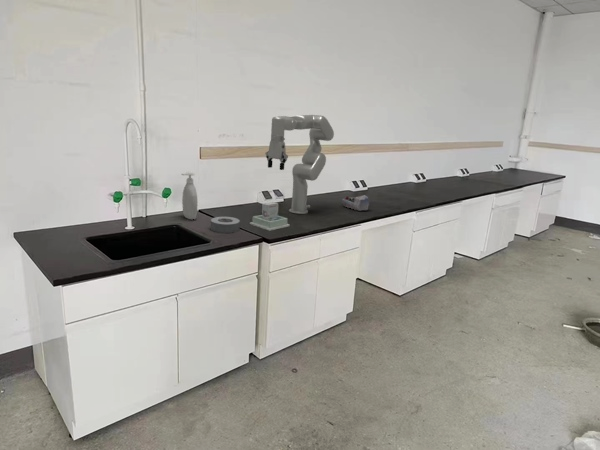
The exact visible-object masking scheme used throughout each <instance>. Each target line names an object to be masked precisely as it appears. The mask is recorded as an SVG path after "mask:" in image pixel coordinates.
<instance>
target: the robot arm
mask: <svg viewBox="0 0 600 450" xmlns="http://www.w3.org/2000/svg"><path fill="white" fill-rule="evenodd" d="M294 130H298V131H301V130H309V146H308V147H307V149H306V151H305V152H304V153H303V155H302V158H301V163H296V164H294V166H293V167H292V170H291V171H292V172H291V173H292V174H291V175H292V182H293V183H292V195H291V196H292V197H291V208H289V209H288V212H289V213H292V214H295V215H296V214H297V215H305V214H308V213H309V210H308V209H309V208H311V205H310V204H307V201H308V200H307V198H308V185H309V184H308V181H311V182H312V181H315V180H317V179H318V178H319V176H320V174H321V172H322V171H323V169H324V167H325V166H326V163H327V157H326V155H325V154H324V152H322V144H321V142H320V141H326V142H329V141H331V140H333V138H334V137H335V136H334V135H335V132H334V129H333V127H332V126H331V124H330V122H329V120H328V119H327V118H326V116H324V115H321V114H320V115H319V114H305V115H304V114H302V115H282V116H281V115H279V116H274V117H272V118H271V130H270V131H271V135H270V142H269V146H268V150H267V151H266V152H265V157H266V160H267V168H269V169H272V168H273V159H275V160H279V162H280V163H279V170H280V171H284V170H285V163H286V162H287V160H288V158H289V155H288V154H286V149H287V148H286V143H285V140H286V138H285V131H290V132H291V131H294Z"/></svg>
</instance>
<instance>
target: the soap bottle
mask: <svg viewBox="0 0 600 450" xmlns="http://www.w3.org/2000/svg"><path fill="white" fill-rule="evenodd" d="M181 176H188V177H187V178H186V183H185V186H184V188H183V192H182V198H181V199H182V201H181V203H182V212H183V217H184V218H186V219H187V220H191V221H193V219H194V220H196V219H197V215H198V195H197V194H198V193H197V189H196V187H195V184H194V178H192V176H195V173H194V172H193V171H191V170H190V171H186V172H184V173H181Z"/></svg>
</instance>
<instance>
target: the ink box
mask: <svg viewBox="0 0 600 450" xmlns="http://www.w3.org/2000/svg"><path fill="white" fill-rule="evenodd" d="M261 215H262V219H264V220H267V221H275V220H278V216H279V203H278V202H274V201H270V202H265V203H262V206H261Z"/></svg>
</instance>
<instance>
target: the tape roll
mask: <svg viewBox="0 0 600 450" xmlns="http://www.w3.org/2000/svg"><path fill="white" fill-rule="evenodd" d="M240 222H241V220H240V219H238V218H237V217H232V216H216V217H212V218H211V219H210V230H211V231H212V232H215V233H221V234H233V233H237V232H239V231H240V224H241V223H240ZM232 232H233V233H232Z"/></svg>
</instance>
